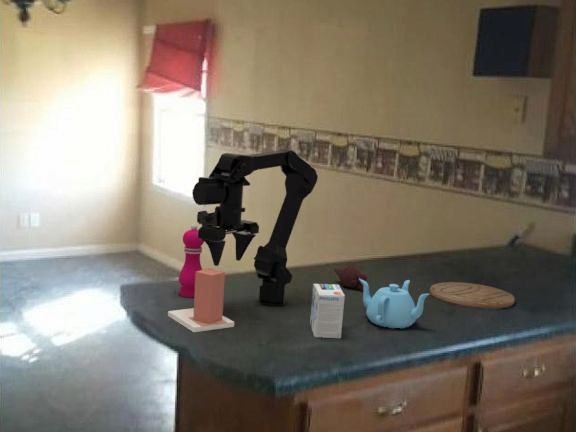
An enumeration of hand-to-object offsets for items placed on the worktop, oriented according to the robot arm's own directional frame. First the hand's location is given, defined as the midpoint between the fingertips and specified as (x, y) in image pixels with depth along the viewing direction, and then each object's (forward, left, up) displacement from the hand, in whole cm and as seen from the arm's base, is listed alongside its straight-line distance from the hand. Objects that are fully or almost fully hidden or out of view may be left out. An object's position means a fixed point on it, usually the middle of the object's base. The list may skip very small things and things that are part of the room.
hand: (227, 263), depth 188 cm
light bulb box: (-26, +10, -13) cm, 31 cm away
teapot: (-44, -2, -13) cm, 46 cm away
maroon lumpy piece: (-35, -35, -13) cm, 51 cm away
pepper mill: (+11, -14, -13) cm, 22 cm away
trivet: (-72, -33, -14) cm, 80 cm away
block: (+3, +12, -12) cm, 17 cm away
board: (+5, +9, -13) cm, 17 cm away
